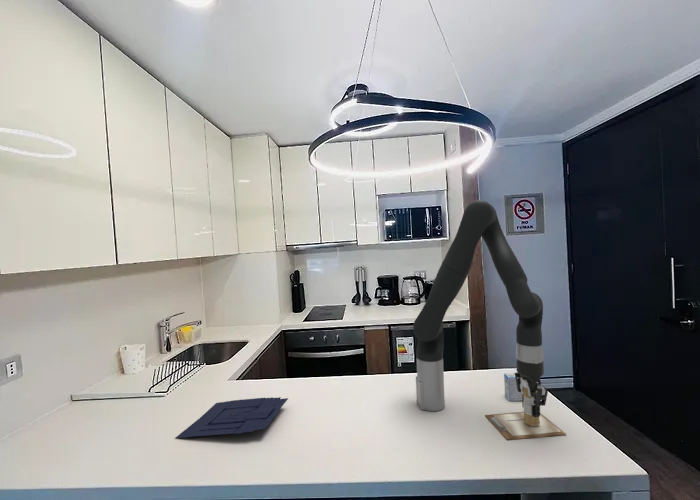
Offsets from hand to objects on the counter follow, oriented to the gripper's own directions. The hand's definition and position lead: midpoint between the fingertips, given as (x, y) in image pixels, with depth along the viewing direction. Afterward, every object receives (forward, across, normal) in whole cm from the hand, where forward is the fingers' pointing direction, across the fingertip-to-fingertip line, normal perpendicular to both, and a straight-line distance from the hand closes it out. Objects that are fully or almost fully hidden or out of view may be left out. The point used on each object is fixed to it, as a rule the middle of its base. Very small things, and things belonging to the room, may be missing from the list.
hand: (531, 412), depth 107 cm
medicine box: (+5, -18, +6) cm, 20 cm away
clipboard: (+4, -1, -2) cm, 5 cm away
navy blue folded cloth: (+5, -18, -94) cm, 96 cm away
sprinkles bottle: (+3, 0, 0) cm, 3 cm away
